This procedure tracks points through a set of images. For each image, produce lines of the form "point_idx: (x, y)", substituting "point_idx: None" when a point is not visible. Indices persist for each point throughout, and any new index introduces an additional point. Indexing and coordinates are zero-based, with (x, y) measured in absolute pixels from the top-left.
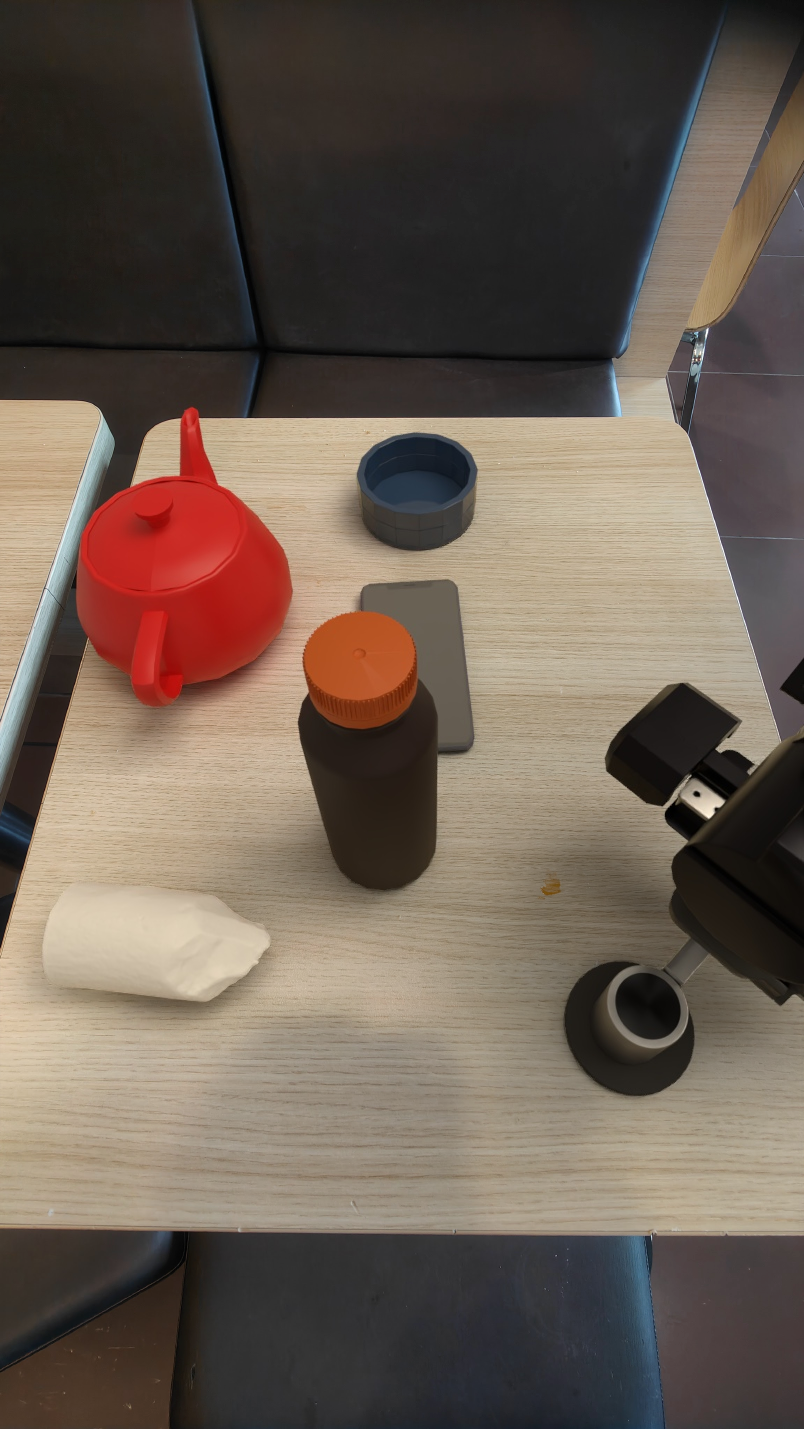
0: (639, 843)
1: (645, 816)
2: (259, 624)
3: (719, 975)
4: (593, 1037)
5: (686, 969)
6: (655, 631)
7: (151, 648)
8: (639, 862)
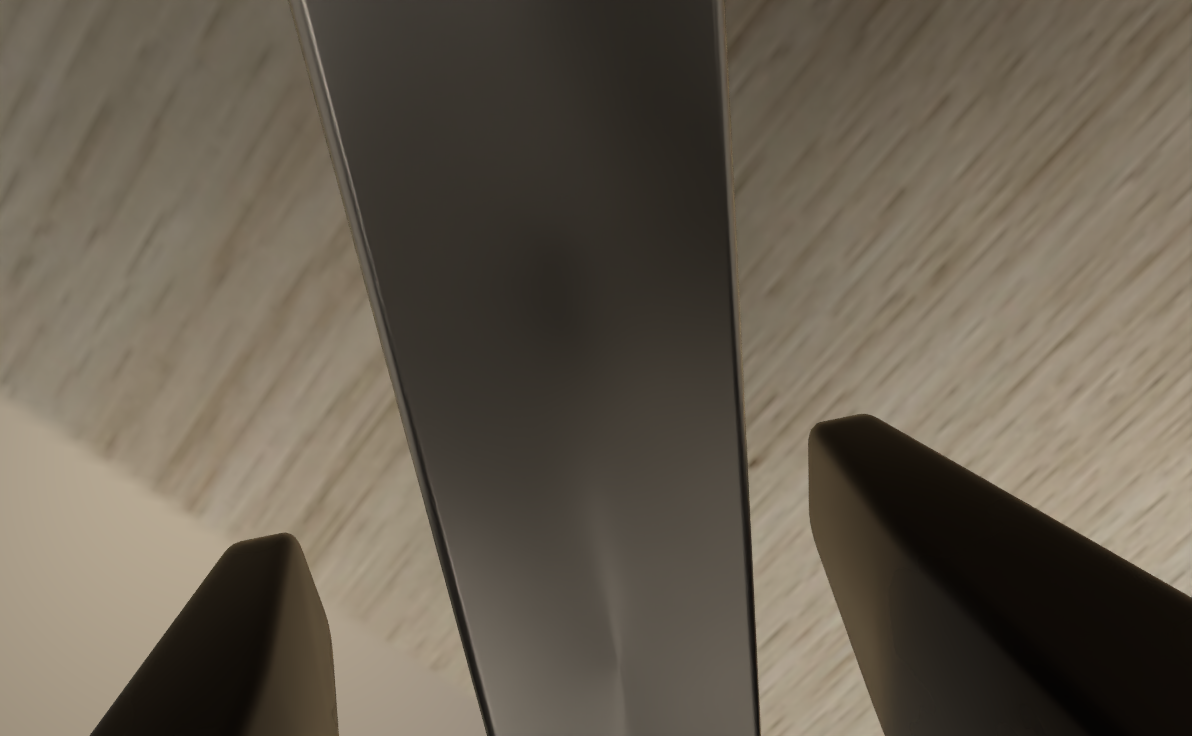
0: (1134, 193)
1: (1185, 324)
2: None
3: (208, 11)
4: None
5: None
6: None
7: None
8: (1072, 111)
